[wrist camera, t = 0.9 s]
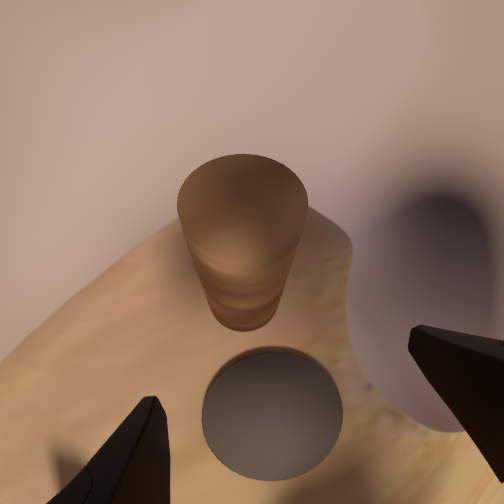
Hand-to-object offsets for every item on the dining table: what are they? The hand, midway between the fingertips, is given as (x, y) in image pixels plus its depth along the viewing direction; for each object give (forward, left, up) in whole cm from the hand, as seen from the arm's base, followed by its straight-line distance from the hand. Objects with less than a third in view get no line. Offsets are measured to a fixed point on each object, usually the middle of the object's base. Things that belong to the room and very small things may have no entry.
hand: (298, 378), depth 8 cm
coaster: (-2, +2, -14) cm, 14 cm away
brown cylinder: (+6, -5, -14) cm, 16 cm away
